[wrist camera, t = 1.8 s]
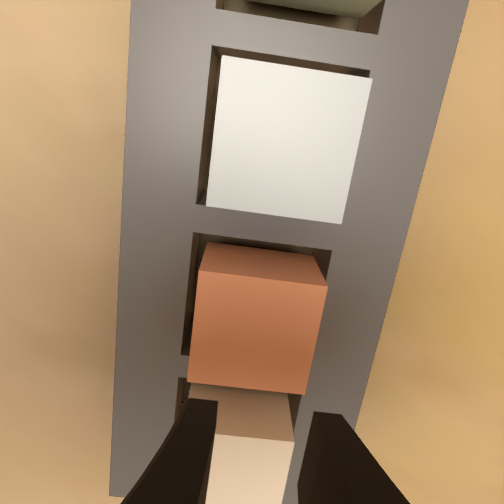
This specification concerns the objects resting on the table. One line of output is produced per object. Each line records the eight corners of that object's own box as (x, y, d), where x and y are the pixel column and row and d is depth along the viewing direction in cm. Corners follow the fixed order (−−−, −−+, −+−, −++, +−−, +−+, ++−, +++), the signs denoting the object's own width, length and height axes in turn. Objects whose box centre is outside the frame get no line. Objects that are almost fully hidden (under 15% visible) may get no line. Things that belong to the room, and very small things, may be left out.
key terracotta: (196, 336, 17) (186, 381, 14) (207, 241, 15) (198, 270, 13) (295, 347, 17) (304, 394, 14) (312, 255, 16) (328, 286, 13)
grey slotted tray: (127, 444, 21) (109, 495, 18) (166, -212, 13) (144, -304, 10) (320, 464, 22) (331, 516, 19) (470, -154, 14) (529, -225, 11)
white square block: (213, 188, 15) (205, 206, 12) (226, 67, 14) (222, 54, 11) (323, 203, 15) (341, 224, 12) (346, 85, 14) (372, 78, 11)
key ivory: (183, 454, 19) (172, 516, 16) (192, 378, 17) (181, 430, 14) (272, 463, 19) (276, 525, 16) (286, 388, 18) (294, 442, 15)
